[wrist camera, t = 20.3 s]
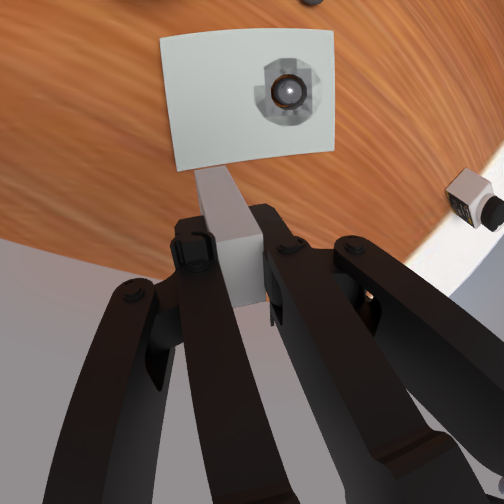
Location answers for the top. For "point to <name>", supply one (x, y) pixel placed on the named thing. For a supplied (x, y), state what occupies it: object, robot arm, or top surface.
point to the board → (247, 94)
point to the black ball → (313, 2)
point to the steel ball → (287, 91)
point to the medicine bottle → (476, 201)
